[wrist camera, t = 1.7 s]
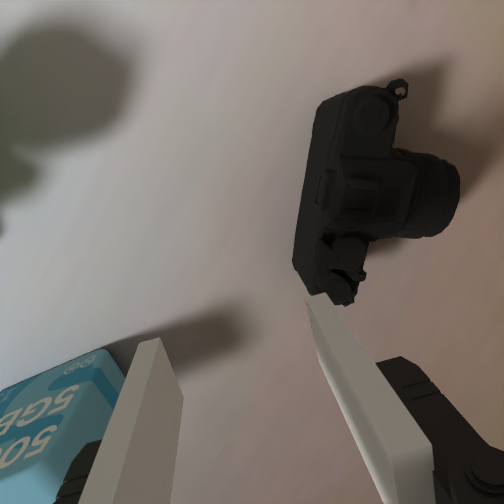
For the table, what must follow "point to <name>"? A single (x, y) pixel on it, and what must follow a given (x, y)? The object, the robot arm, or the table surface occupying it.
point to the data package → (53, 424)
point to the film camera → (364, 190)
